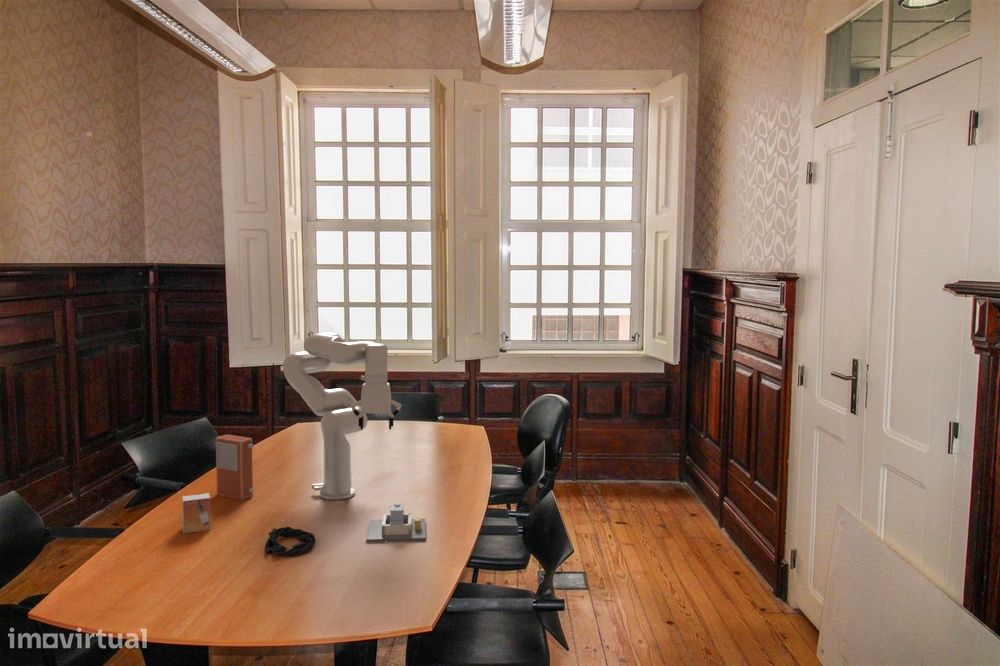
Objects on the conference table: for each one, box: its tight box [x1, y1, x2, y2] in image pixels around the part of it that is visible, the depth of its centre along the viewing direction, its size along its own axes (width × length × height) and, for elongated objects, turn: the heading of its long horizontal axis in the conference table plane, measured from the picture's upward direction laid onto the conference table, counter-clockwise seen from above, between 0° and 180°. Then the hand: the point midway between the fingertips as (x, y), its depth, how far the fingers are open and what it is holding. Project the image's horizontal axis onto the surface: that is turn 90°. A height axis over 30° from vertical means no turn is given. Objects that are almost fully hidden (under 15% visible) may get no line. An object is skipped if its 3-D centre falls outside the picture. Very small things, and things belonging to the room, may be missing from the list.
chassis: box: [365, 512, 427, 543], centre depth 209 cm, size 18×16×4 cm
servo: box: [389, 502, 405, 526], centre depth 209 cm, size 4×10×7 cm, turn 8°
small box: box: [181, 492, 212, 534], centre depth 208 cm, size 8×6×10 cm
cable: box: [264, 526, 316, 558], centre depth 197 cm, size 17×14×4 cm
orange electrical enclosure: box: [215, 434, 255, 500], centre depth 240 cm, size 21×7×15 cm
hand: (376, 428), depth 228 cm, fingers open, 9 cm apart
